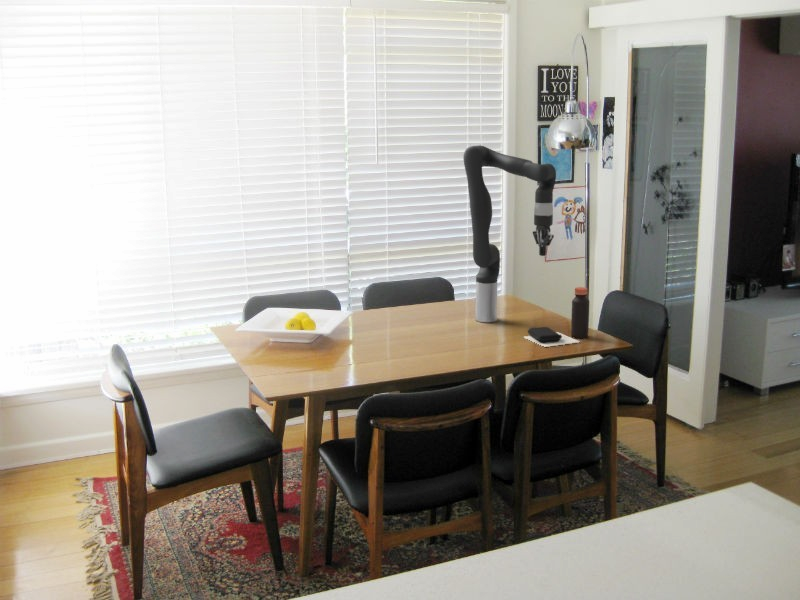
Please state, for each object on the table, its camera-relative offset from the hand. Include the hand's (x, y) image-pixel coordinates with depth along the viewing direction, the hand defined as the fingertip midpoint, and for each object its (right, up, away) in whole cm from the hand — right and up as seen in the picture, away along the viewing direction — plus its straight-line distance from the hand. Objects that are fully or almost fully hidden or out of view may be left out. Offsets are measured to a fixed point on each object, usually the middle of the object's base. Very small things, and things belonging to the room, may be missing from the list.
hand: (542, 255), depth 347 cm
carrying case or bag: (-2, -30, -3) cm, 31 cm away
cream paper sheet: (+2, -34, -11) cm, 36 cm away
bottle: (+14, -33, -7) cm, 37 cm away
